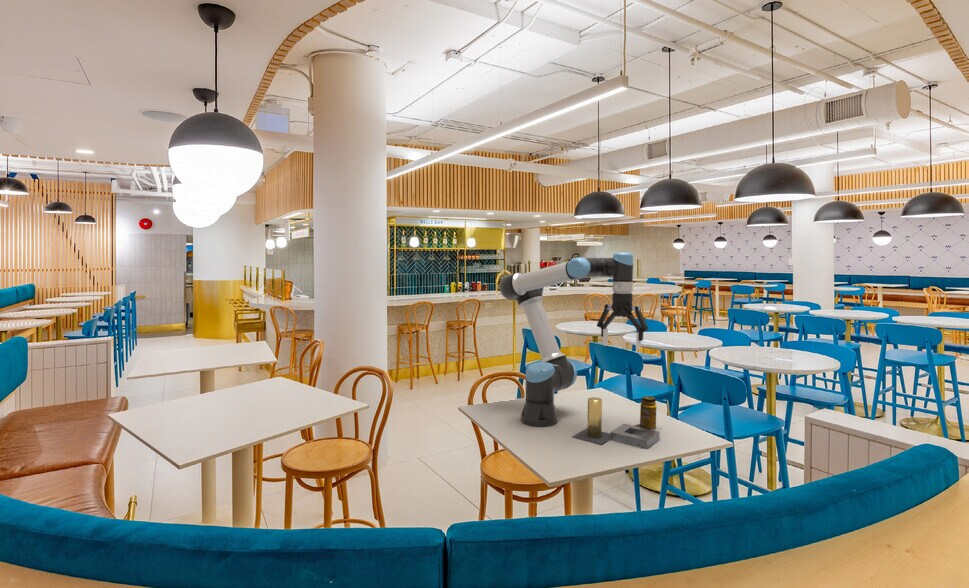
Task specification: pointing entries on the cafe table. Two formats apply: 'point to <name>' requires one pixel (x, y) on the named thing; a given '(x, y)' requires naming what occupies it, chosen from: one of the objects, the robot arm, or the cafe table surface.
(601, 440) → the mat
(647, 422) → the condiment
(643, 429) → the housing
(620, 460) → the cafe table surface
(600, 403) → the gold rounded cylinder
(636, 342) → the robot arm
